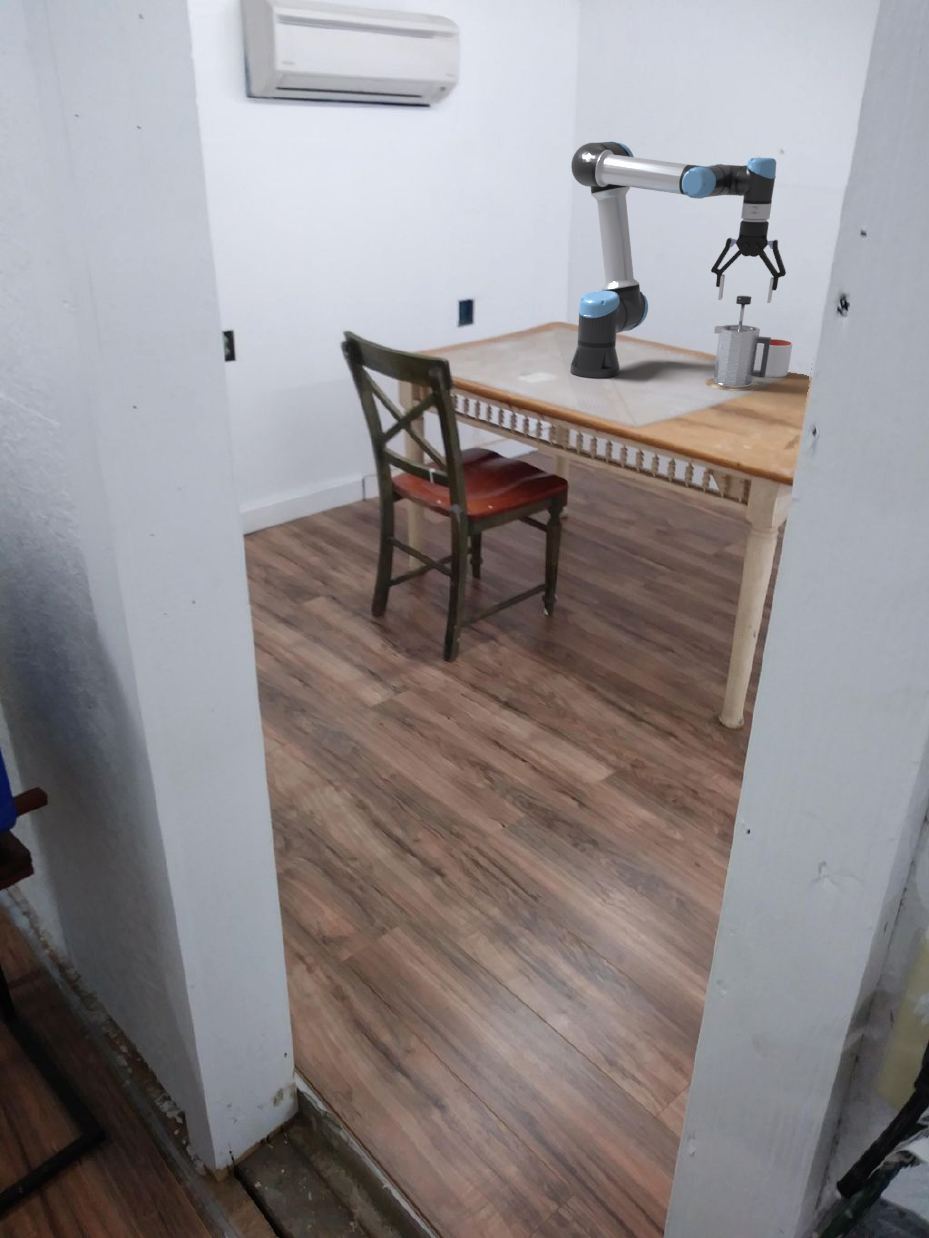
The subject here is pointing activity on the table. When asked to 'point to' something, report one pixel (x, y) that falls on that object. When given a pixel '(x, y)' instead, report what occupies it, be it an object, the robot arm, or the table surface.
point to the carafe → (738, 356)
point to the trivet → (711, 384)
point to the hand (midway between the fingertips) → (744, 300)
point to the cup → (775, 358)
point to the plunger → (742, 310)
